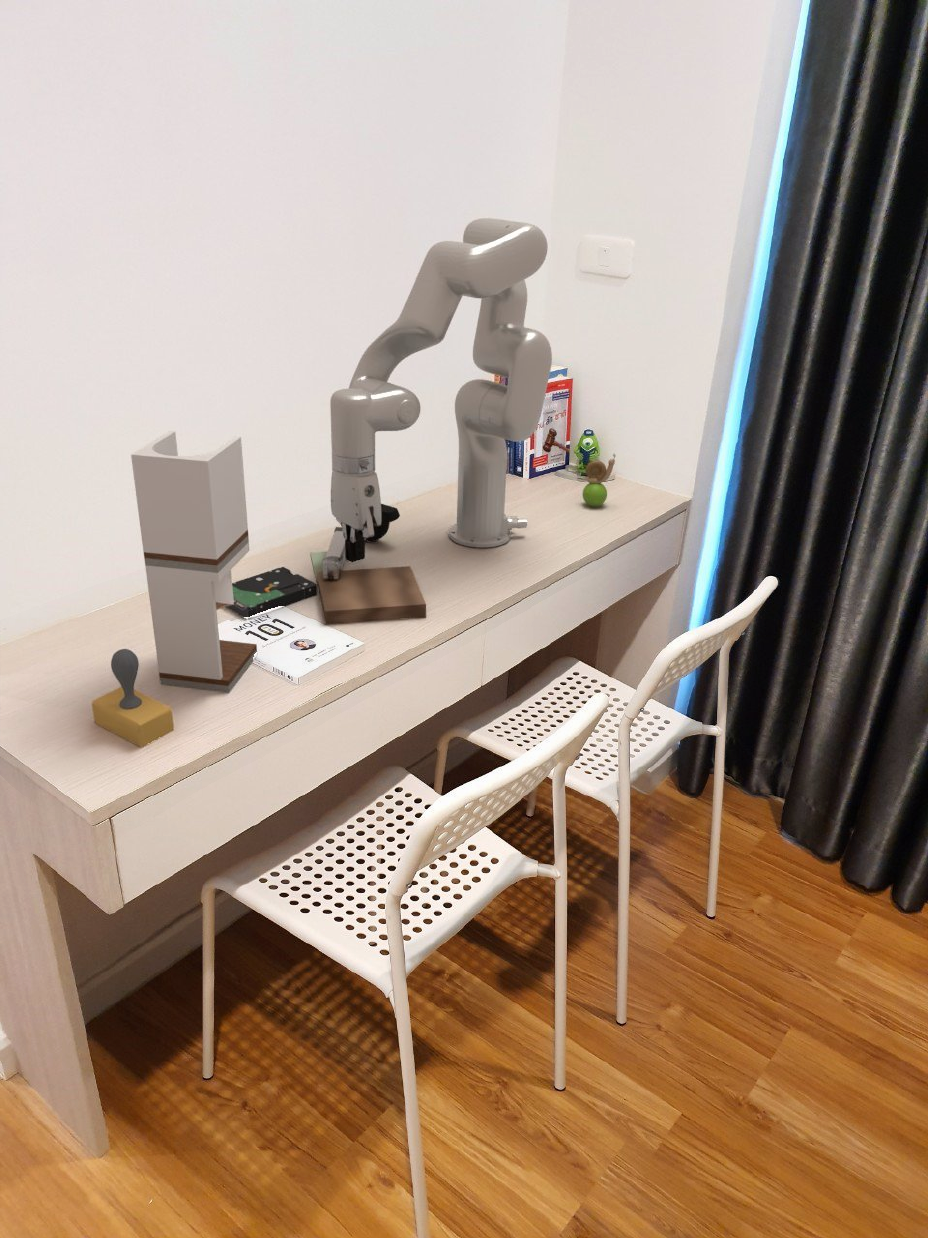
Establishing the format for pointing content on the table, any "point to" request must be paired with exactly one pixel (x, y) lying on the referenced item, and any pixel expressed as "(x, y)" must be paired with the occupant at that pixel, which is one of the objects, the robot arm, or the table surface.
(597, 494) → the snail figurine
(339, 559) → the folding leg
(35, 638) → the table surface
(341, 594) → the brown flat wooden board
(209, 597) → the gray dispenser tower
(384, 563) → the table surface
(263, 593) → the disk drive
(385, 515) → the controller
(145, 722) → the rubber stamp
